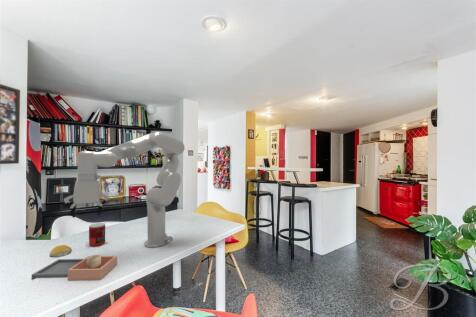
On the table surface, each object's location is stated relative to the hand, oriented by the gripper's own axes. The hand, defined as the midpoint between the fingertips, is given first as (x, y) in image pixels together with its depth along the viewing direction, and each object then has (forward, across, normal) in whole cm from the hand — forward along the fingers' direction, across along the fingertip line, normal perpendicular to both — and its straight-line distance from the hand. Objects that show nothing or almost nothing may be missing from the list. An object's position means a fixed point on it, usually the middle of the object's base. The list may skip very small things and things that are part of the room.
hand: (86, 215), depth 103 cm
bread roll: (+22, +13, -20) cm, 32 cm away
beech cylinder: (+21, -4, +12) cm, 25 cm away
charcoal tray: (+22, +8, +2) cm, 24 cm away
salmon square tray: (+22, -4, +12) cm, 25 cm away
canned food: (+22, -2, -26) cm, 34 cm away
